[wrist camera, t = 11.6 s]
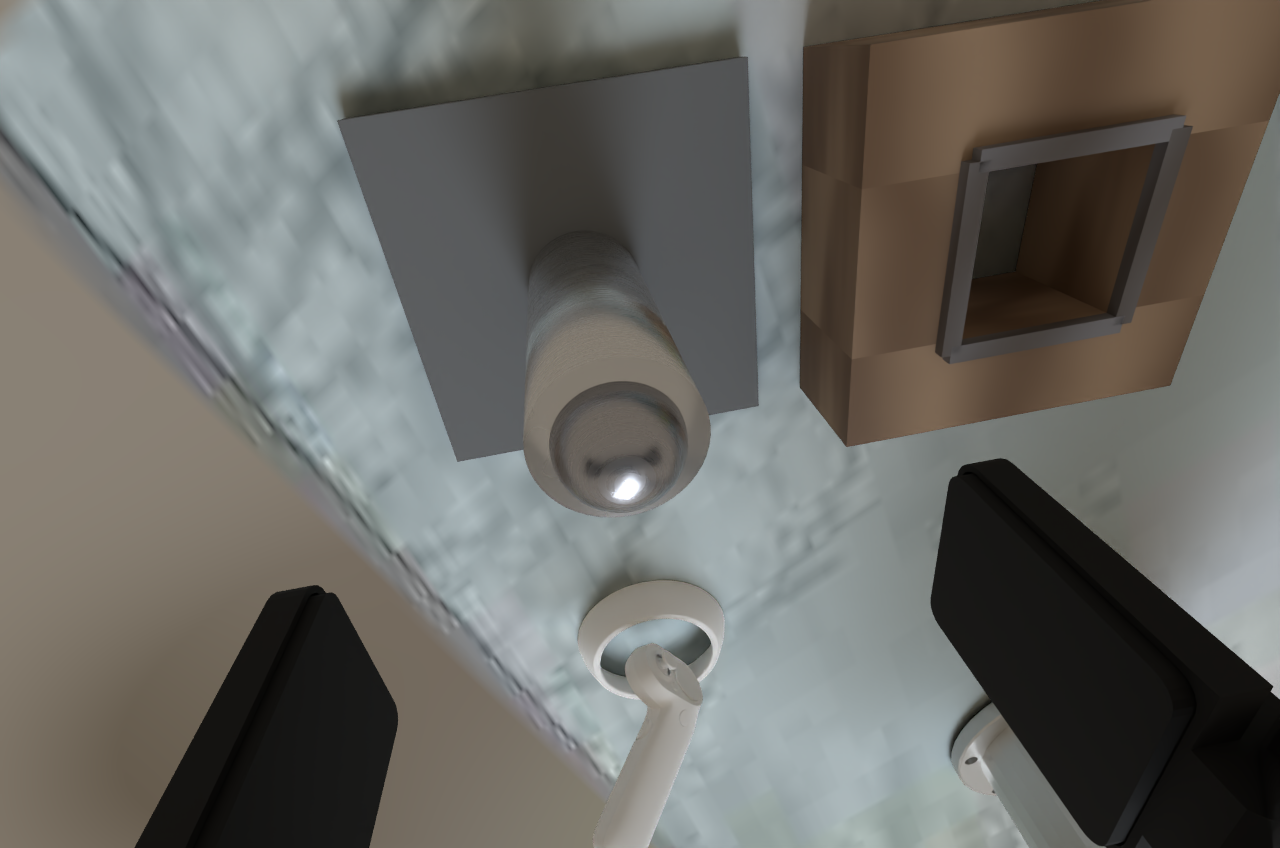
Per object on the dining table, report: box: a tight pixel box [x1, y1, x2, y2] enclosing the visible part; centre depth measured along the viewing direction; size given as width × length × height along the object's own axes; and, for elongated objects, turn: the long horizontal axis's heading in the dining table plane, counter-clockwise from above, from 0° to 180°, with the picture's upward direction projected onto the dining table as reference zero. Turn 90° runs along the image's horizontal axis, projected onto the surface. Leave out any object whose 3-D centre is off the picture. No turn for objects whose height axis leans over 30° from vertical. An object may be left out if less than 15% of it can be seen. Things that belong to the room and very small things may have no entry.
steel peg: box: [523, 231, 711, 517], centre depth 16 cm, size 4×4×11 cm
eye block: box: [800, 0, 1280, 447], centre depth 20 cm, size 12×12×5 cm
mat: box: [337, 57, 759, 462], centre depth 21 cm, size 12×12×1 cm
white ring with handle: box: [578, 580, 725, 848], centre depth 29 cm, size 8×12×7 cm
